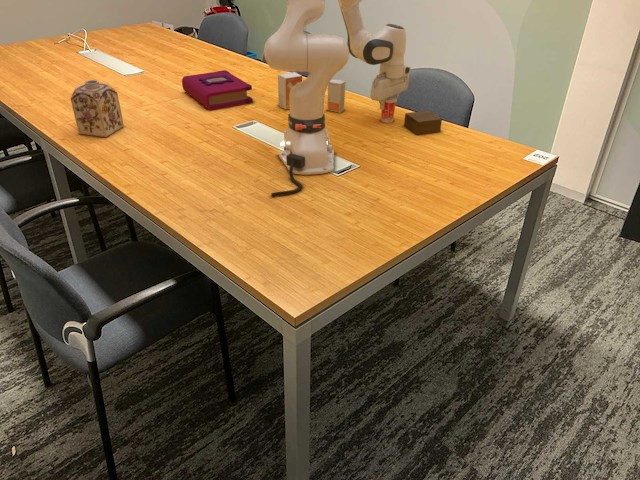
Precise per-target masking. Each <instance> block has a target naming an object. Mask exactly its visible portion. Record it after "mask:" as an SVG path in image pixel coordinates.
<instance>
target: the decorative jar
mask: <svg viewBox="0 0 640 480" xmlns="http://www.w3.org/2000/svg"><path fill="white" fill-rule="evenodd" d="M118 94H119V93H118V91H117V90H116V89H114V88H113V87H112V86H110V85H109V84H107V83H102V82H101V83H100V81H99V80H97V79H89V80H86V81H85V82H84V84H81V85H78V86H77V87H75V88H74V90H73V92H72V94H71V97H70V103H71V107H72V111H73V116H74V120H75V123H76V127H77V130H78V131H77V132H78V134H79V135H85V136H92V137H99V138H100V137H101V138H107V137H109V136H110V135H112V134H113V133H116V132H117V131H119V130H121V129H122V128H123V127H124V126H125V125H124V124H125V123H124V119H123V114H122V110H121V109H122V108H121V104H120V100H119V99H120V98H119V95H118Z"/></svg>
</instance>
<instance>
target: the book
mask: <svg viewBox="0 0 640 480" xmlns="http://www.w3.org/2000/svg"><path fill="white" fill-rule="evenodd" d="M181 86H182V90H183V91H184V92H186V94H188V95H189V96H191V97H192V98H193V99H195V100H196V101H197V102H199V103H200V104H201V105H202V106H204V107H205V108H207V109H208V110H210V111H212V110H213V111H214V110H220V109H225V108H229V107H230V108H231V107H236V106H241V105H250V104H253V102H254V99H253V98H252V97H250V96H248V91H252V90H253V86H252V84H250V83H247V82H246V81H245V80H243V79H241V78H240V77H237V76H235V75H234V74H232V73H231V72H230V71H228V70H225V69H224V70H216V71H211V72H205V73H197V74H190V75H184V76H183V77H182V79H181Z"/></svg>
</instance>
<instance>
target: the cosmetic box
mask: <svg viewBox="0 0 640 480" xmlns="http://www.w3.org/2000/svg"><path fill="white" fill-rule="evenodd" d="M346 82H347V81H346V80H340V79H334V78H332V79H331V80H330V82H329V84H328V86H327V101H326V102H327V104H326V105H327V106H326V111H330V112H334V113H339V114H341V113H342V112H344V110H345V101H346V84H347V83H346Z"/></svg>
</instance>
